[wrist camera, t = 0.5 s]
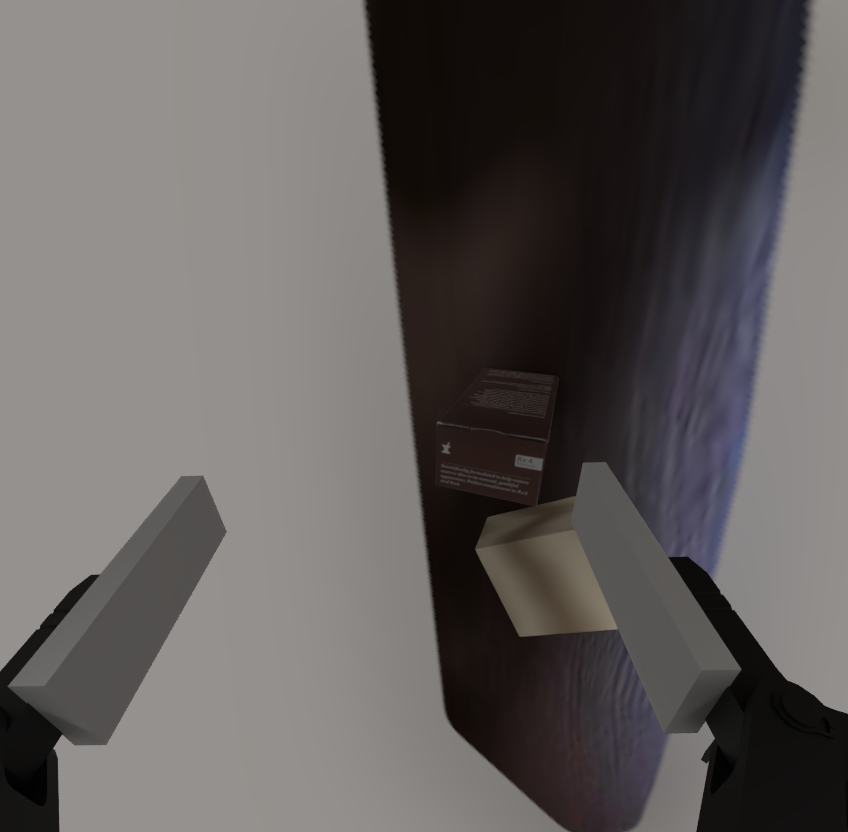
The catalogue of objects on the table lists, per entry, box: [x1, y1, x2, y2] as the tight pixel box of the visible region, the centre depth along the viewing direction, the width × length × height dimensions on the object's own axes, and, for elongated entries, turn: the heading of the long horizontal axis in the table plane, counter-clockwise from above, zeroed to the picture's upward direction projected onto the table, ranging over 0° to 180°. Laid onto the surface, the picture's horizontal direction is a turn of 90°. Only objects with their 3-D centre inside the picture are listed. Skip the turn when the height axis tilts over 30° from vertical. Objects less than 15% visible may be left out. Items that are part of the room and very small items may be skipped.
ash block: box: [475, 496, 618, 637], centre depth 33 cm, size 9×9×5 cm
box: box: [435, 368, 559, 507], centre depth 26 cm, size 6×4×12 cm
